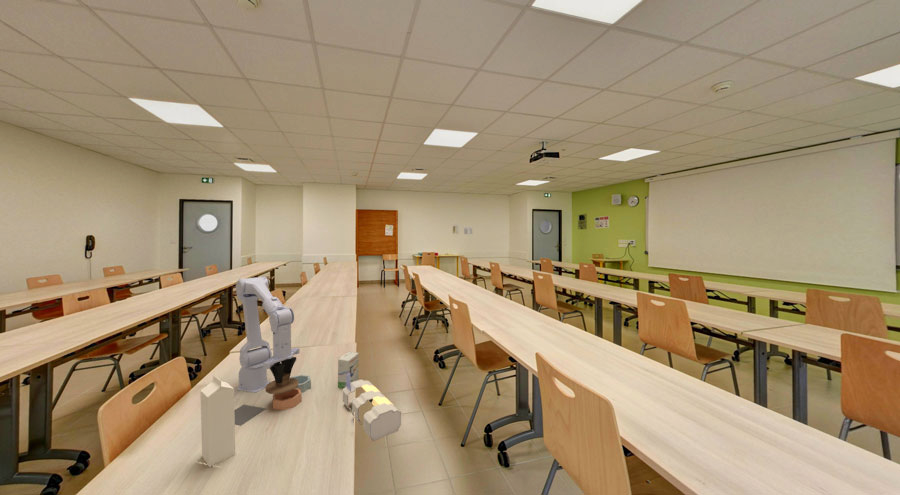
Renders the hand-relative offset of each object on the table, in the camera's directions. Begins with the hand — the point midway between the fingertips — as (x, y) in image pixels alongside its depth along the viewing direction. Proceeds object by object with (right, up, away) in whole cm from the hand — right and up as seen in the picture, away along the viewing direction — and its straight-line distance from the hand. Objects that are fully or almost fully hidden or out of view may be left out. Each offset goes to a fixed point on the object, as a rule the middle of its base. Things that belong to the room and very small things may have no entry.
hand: (282, 380), depth 110 cm
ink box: (+18, -9, +16) cm, 26 cm away
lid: (0, -2, 0) cm, 2 cm away
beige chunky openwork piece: (+33, -10, -7) cm, 35 cm away
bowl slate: (0, -9, +12) cm, 15 cm away
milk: (-4, -10, -26) cm, 28 cm away
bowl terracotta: (+1, -9, +1) cm, 9 cm away
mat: (-10, -9, -6) cm, 15 cm away
